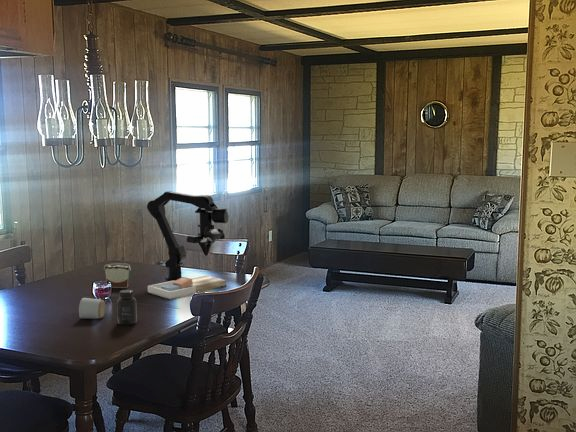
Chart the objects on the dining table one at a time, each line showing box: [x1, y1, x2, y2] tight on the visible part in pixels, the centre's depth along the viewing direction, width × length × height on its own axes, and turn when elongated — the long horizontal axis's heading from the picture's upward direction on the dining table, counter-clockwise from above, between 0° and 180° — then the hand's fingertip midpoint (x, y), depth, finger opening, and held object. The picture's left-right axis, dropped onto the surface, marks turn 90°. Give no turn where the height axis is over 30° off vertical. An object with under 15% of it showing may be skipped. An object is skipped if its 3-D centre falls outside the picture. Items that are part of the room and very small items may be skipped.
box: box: [147, 280, 197, 300], centre depth 279 cm, size 16×14×3 cm
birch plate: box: [186, 275, 227, 293], centre depth 291 cm, size 14×18×2 cm
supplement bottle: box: [116, 289, 138, 326], centre depth 235 cm, size 7×7×12 cm
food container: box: [103, 262, 132, 289], centre depth 291 cm, size 12×6×10 cm, turn 84°
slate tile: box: [161, 284, 181, 291], centre depth 279 cm, size 6×6×2 cm
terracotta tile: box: [173, 276, 193, 289], centre depth 283 cm, size 6×6×2 cm
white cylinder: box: [78, 297, 106, 320], centre depth 243 cm, size 11×8×8 cm
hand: (206, 255), depth 301 cm, fingers closed
